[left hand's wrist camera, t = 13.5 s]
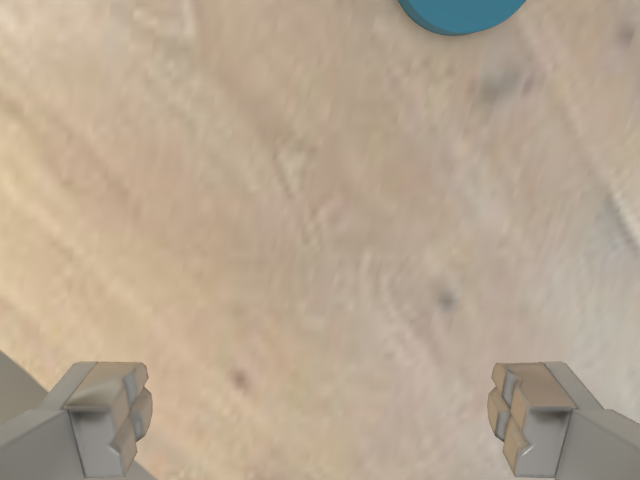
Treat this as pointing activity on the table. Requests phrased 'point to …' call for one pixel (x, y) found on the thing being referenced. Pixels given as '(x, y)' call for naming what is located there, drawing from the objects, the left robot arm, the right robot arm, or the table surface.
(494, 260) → the table surface
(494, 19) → the camera mount
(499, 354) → the table surface
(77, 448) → the left robot arm
